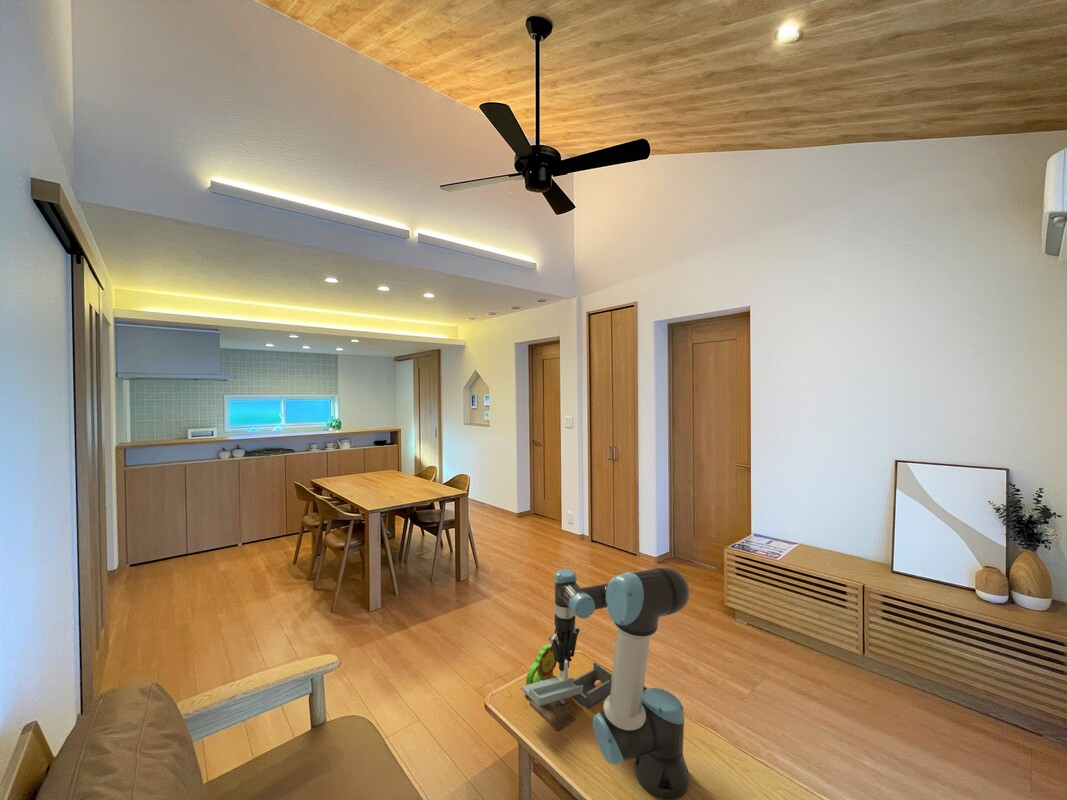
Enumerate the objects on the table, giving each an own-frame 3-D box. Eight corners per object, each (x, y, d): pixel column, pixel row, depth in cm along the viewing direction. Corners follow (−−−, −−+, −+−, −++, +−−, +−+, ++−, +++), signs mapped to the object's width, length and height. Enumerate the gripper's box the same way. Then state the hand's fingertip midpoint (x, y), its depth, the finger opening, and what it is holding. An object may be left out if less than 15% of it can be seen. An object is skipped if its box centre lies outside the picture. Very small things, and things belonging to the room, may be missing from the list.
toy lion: (533, 702, 155) (534, 661, 155) (522, 695, 159) (523, 654, 159) (561, 680, 167) (561, 642, 167) (550, 674, 171) (551, 636, 170)
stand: (575, 720, 147) (575, 701, 147) (557, 731, 143) (557, 712, 142) (547, 695, 159) (547, 677, 159) (529, 704, 154) (529, 686, 154)
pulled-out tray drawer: (611, 694, 160) (611, 673, 159) (587, 709, 152) (587, 687, 152) (594, 682, 167) (594, 661, 166) (571, 695, 159) (571, 674, 159)
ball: (604, 689, 161) (604, 681, 161) (598, 693, 160) (598, 685, 159) (598, 684, 164) (598, 676, 164) (592, 689, 162) (592, 681, 162)
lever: (584, 697, 151) (586, 688, 152) (541, 711, 139) (542, 701, 140) (560, 677, 162) (561, 668, 162) (517, 688, 150) (519, 679, 150)
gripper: (571, 604, 164) (570, 665, 165) (544, 615, 156) (543, 679, 157) (585, 612, 158) (584, 676, 159) (558, 624, 150) (557, 691, 151)
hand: (563, 677), depth 158 cm, fingers closed
